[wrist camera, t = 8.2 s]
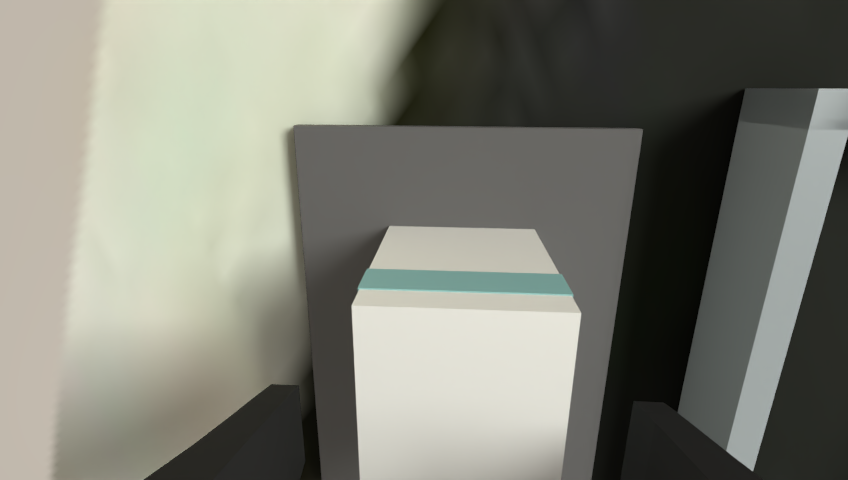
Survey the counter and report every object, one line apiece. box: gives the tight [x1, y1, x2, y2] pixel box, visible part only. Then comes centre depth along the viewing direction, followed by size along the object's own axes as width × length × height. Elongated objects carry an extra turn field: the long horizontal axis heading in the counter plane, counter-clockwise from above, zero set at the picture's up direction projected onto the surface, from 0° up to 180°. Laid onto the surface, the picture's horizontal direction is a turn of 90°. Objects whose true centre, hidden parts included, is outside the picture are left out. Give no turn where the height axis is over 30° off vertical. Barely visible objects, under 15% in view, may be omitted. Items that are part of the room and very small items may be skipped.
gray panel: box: [294, 125, 643, 480], centre depth 14 cm, size 12×9×1 cm
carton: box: [352, 226, 581, 480], centre depth 11 cm, size 4×6×5 cm
